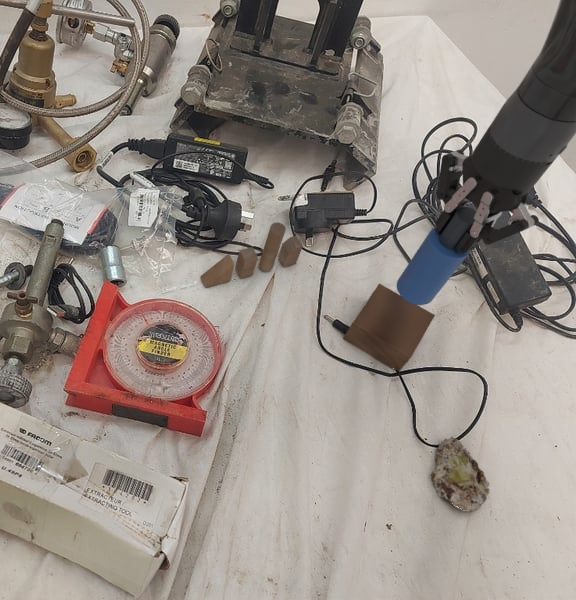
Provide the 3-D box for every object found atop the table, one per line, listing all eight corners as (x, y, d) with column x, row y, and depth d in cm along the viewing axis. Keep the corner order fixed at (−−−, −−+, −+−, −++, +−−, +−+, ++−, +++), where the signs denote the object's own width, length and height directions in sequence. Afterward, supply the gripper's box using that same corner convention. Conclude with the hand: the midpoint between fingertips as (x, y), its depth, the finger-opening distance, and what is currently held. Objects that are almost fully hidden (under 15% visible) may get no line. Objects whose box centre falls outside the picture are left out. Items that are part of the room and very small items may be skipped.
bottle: (442, 297, 85) (500, 223, 72) (413, 310, 83) (468, 238, 70) (416, 269, 87) (468, 194, 74) (388, 282, 86) (436, 207, 72)
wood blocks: (289, 254, 104) (304, 215, 96) (295, 265, 103) (311, 226, 95) (159, 287, 98) (163, 249, 90) (164, 299, 97) (168, 261, 88)
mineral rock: (507, 511, 78) (459, 504, 76) (483, 519, 82) (437, 513, 80) (482, 436, 85) (438, 428, 83) (461, 447, 88) (418, 439, 86)
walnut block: (422, 331, 97) (435, 315, 93) (398, 372, 92) (411, 357, 88) (368, 300, 100) (379, 283, 96) (342, 338, 95) (352, 322, 91)
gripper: (455, 105, 64) (394, 213, 78) (554, 188, 57) (469, 289, 72) (502, 89, 66) (435, 196, 81) (602, 167, 60) (510, 269, 74)
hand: (451, 239), depth 76 cm, fingers closed on bottle, 3 cm apart
